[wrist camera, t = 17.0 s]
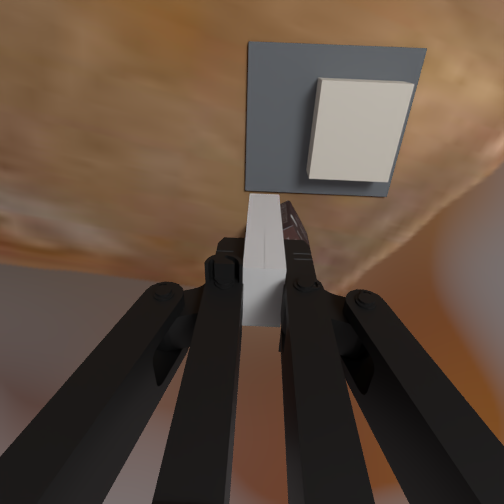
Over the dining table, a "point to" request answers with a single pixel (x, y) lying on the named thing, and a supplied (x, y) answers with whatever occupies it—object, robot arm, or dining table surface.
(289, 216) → the box
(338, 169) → the light grey flat block
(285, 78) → the mat
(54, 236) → the dining table surface
